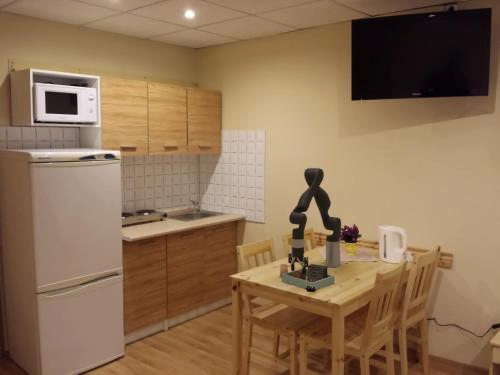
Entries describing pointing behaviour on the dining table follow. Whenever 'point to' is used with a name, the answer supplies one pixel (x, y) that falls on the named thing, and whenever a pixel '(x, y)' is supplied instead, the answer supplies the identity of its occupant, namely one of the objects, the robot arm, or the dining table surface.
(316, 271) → the small box
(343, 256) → the dining table surface
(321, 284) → the teal shallow rectangular tray
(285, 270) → the jar
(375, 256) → the dining table surface
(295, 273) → the block
